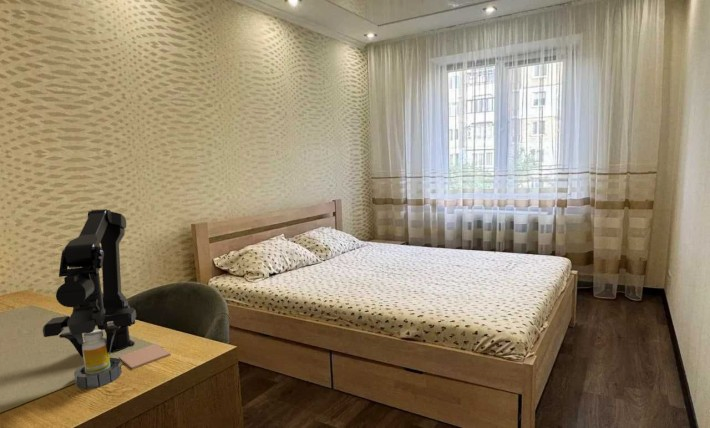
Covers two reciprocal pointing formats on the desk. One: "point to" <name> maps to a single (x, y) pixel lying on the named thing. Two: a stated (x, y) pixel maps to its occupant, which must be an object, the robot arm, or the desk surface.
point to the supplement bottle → (95, 352)
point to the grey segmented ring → (98, 375)
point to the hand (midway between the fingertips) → (96, 354)
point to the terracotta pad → (144, 356)
